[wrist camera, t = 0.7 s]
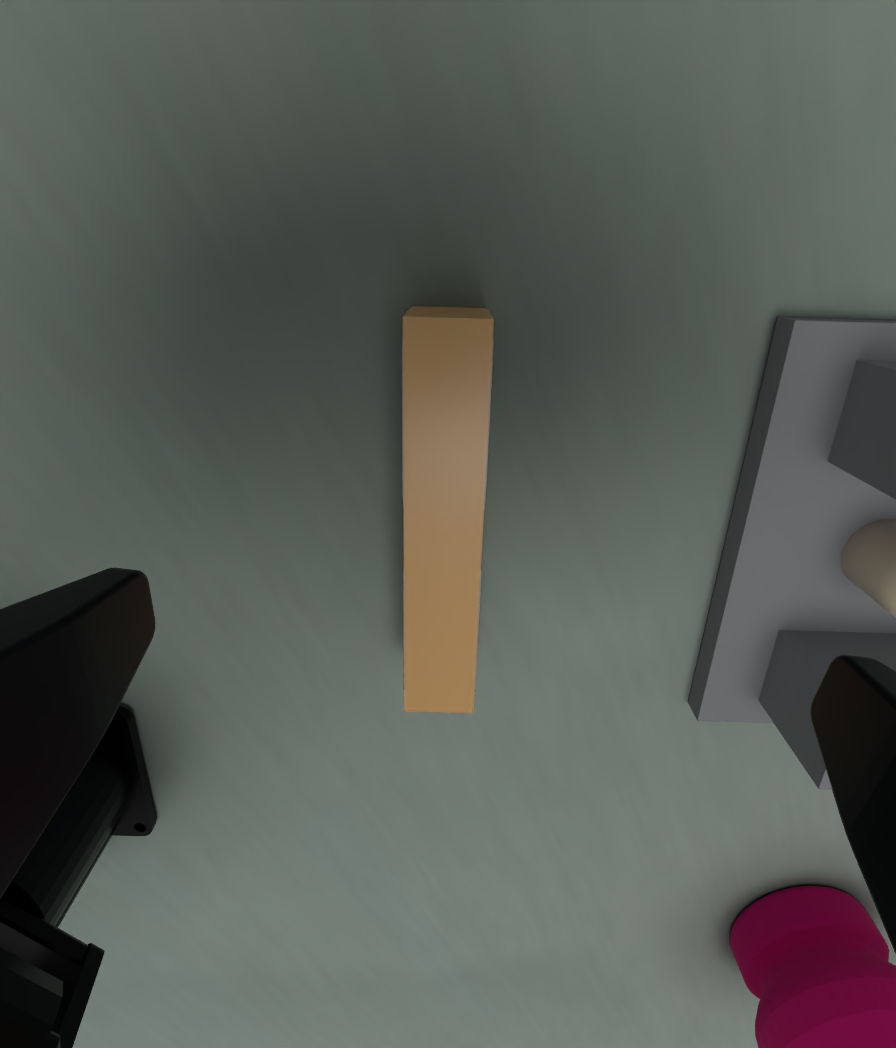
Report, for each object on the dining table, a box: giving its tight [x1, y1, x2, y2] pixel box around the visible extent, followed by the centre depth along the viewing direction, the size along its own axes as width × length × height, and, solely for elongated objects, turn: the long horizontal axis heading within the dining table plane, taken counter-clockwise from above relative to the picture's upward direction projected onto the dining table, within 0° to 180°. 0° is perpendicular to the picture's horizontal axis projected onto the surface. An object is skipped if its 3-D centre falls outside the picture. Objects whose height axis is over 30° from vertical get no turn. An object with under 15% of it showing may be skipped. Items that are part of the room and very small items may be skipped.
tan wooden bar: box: [402, 306, 494, 713], centre depth 19 cm, size 12×2×4 cm, turn 179°
